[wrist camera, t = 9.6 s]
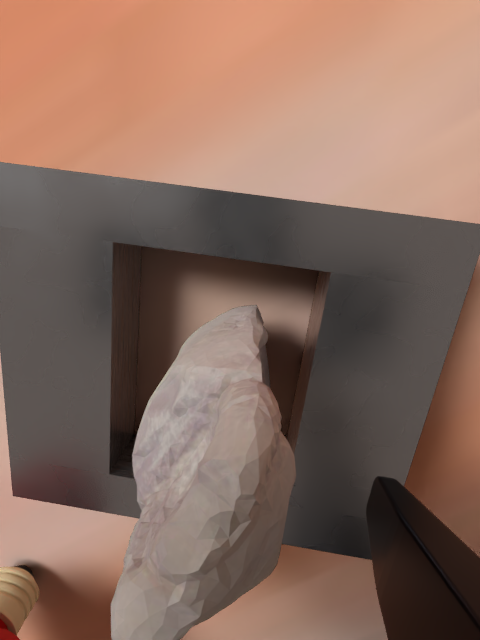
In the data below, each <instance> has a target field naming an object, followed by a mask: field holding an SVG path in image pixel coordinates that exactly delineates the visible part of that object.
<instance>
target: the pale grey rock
mask: <svg viewBox="0 0 480 640" xmlns="http://www.w3.org/2000/svg"><path fill="white" fill-rule="evenodd" d="M267 340H268V333H267V331H266V329H265V328H264V326H263V320H262V317H261V314H260V311H259V309H258V307H257V305H251V306H241V307H237V308H233V309H231V310H229V311H227V312H225V313H223V314H220V315H219V316H217V317H216V318H214V319H213V320H211V321H209V322H207V323H206V324H204V325H203V326H201V327H200V328H199V329H197V330H196V331H195V332H194V333H193V334H192V335H191V336H190V337H189V338H188V339H187V340H186V341H185V343H184V344H183V345H182V347H181V349H180V351H179V354H178V356H177V357H176V359H175V361H174V362H173V364H172V365H171V367H170V368H169V370H168V371H167V373H166V374H165V376H164V377H163V379H162V380H161V382H160V383H159V385H158V387H157V388H156V390H155V391H154V393H153V394H152V396H151V398H150V399H149V401H148V404H147V406H146V409H145V411H144V414H143V417H142V420H141V423H140V426H139V429H138V433H137V437H136V441H135V445H134V450H133V454H132V462H133V473H134V478H135V481H136V484H137V502H138V504H139V506H140V508H141V511H142V512H141V514H140V519H139V520H138V522H137V523H136V524H135V527H134V531H133V533H132V535H131V536H130V540H129V545H128V548H127V551H126V554H125V558H124V568H123V573H122V575H121V577H120V579H119V581H118V584H117V587H116V591H115V594H114V597H113V600H112V602H111V638H112V640H180V639H181V638H182V637H183V636H184V635H185V634H186V633H187V632H188V631H189V629H190V628H191V627H193V626H195V625H197V624H199V623H201V622H203V621H205V620H207V619H209V618H211V617H212V616H214V615H215V614H216V613H218V612H219V611H221V610H222V609H224V608H226V607H227V606H229V605H230V604H232V603H233V602H235V601H236V600H237V599H238V598H239V597H240V596H242V595H243V594H245V593H246V592H248V591H249V590H251V589H252V588H254V587H255V586H256V585H258V584H259V583H260V582H261V581H263V580H264V579H265V578H266V577H268V576H269V575H270V574H271V573H272V571H273V570H274V568H275V567H276V565H277V562H278V558H279V554H280V549H281V544H282V539H283V533H284V527H285V522H286V516H287V510H288V504H289V498H290V495H291V491H292V488H293V485H294V483H295V479H296V468H295V457H294V454H293V451H292V449H291V447H290V445H289V442H288V441H287V439H286V438H285V437H284V435H283V434H282V432H281V431H280V430H281V423H280V421H281V419H282V417H281V414H280V411H279V406H278V402H277V400H276V398H275V397H274V395H273V393H272V391H271V390H270V377H269V367H268V359H267V353H266V346H265V344H266V342H267Z"/></svg>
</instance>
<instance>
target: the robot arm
mask: <svg viewBox="0 0 480 640" xmlns="http://www.w3.org/2000/svg"><path fill="white" fill-rule="evenodd" d="M366 518H367V526H368V533H369V540H370V548H371V555H372V563H373V570H374V577H375V584H376V590H377V594H378V599H379V604H380V608H381V612H382V616H383V620H384V624H385V629H386V633H387V637H388V640H480V557H479V556H478V555H476V554H475V553H474V552H473V551H472V550H471V549H470V548H469V547H468V546H467V545H466V544H465V543H464V542H463V541H462V540H460V539H459V538H458V537H457V536H456V535H455V534H454V533H453V532H452V531H451V530H450V529H449V528H448V527H447V526H445V525H444V524H443V523H442V522H441V521H440V520H439V519H438V518H437V517H436V516H435V515H434V514H433V513H432V512H431V511H429V510H428V509H427V508H426V507H425V506H424V505H423V504H422V503H421V502H420V501H419V500H418V499H417V498H416V497H415V496H413V495H412V494H411V493H410V492H409V491H408V490H407V489H406V488H405V487H404V486H403V485H402V484H401V483H400V482H398V481H397V480H396V479H394V478H389V477H382V476H378V477H376V478H375V479H374V482H373V485H372V488H371V492H370V495H369V498H368V502H367V506H366Z"/></svg>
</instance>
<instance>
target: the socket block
mask: <svg viewBox="0 0 480 640" xmlns="http://www.w3.org/2000/svg"><path fill="white" fill-rule="evenodd" d="M142 246H145V247H153V248H160V249H167V250H174V251H181V252H189V253H196V254H203V255H210V256H217V257H225V258H232V259H239V260H246V261H253V262H261V263H268V264H275V265H282V266H289V267H297V268H304V269H311V270H318V271H319V273H318V278H317V283H316V288H315V294H314V299H313V304H312V309H311V314H310V320H309V325H308V330H307V335H306V340H305V346H304V351H303V356H302V361H301V366H300V372H299V377H298V382H297V387H296V392H295V398H294V403H293V408H292V413H291V418H290V424H289V429H288V434H287V441H288V442H289V445H290V447H291V449H292V451H293V454H294V457H295V468H296V479H295V483H294V485H293V488H292V491H291V495H290V498H289V504H288V510H287V516H286V522H285V527H284V533H283V539H282V544H285V545H291V546H297V547H302V548H308V549H313V550H319V551H325V552H330V553H336V554H342V555H347V556H353V557H358V558H364V559H370V560H372V555H371V548H370V540H369V533H368V526H367V518H366V506H367V502H368V498H369V495H370V492H371V488H372V485H373V482H374V479H375V478H376V477H378V476H382V477H389V478H394V479H396V480H397V481H398V482H400V483H401V484H402V485H403V486H404V484H405V481H406V478H407V475H408V472H409V469H410V466H411V463H412V460H413V457H414V454H415V451H416V448H417V444H418V441H419V438H420V435H421V432H422V429H423V426H424V423H425V420H426V417H427V414H428V411H429V408H430V404H431V401H432V398H433V395H434V392H435V389H436V386H437V383H438V380H439V377H440V374H441V371H442V368H443V364H444V361H445V358H446V355H447V352H448V349H449V346H450V343H451V340H452V337H453V334H454V331H455V328H456V324H457V321H458V318H459V315H460V312H461V309H462V306H463V303H464V300H465V297H466V294H467V291H468V288H469V285H470V281H471V278H472V275H473V272H474V269H475V266H476V263H477V260H478V257H479V254H480V224H475V223H467V222H459V221H452V220H444V219H436V218H429V217H421V216H413V215H405V214H398V213H390V212H382V211H374V210H367V209H359V208H351V207H344V206H336V205H328V204H320V203H313V202H305V201H297V200H289V199H282V198H274V197H266V196H259V195H251V194H243V193H235V192H228V191H220V190H212V189H204V188H197V187H189V186H181V185H174V184H166V183H158V182H150V181H143V180H135V179H127V178H120V177H112V176H104V175H96V174H89V173H81V172H73V171H65V170H58V169H50V168H42V167H35V166H27V165H19V164H11V163H4V162H0V353H1V364H2V376H3V387H4V399H5V410H6V422H7V433H8V445H9V457H10V468H11V480H12V491H13V496H16V497H22V498H27V499H33V500H39V501H44V502H50V503H55V504H61V505H67V506H72V507H78V508H83V509H89V510H95V511H100V512H106V513H112V514H117V515H123V516H128V517H134V518H140V514H141V512H142V511H141V508H140V506H139V504H138V502H137V484H136V481H135V478H134V473H133V462H132V454H133V450H134V445H135V441H136V437H137V434H134V430H135V405H136V380H137V354H138V329H139V304H140V279H141V254H142Z"/></svg>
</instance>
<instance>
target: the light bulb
mask: <svg viewBox="0 0 480 640" xmlns="http://www.w3.org/2000/svg"><path fill="white" fill-rule="evenodd" d="M38 597H39V588H38V585H37V584H36V582H35V579H34V577H33V573H32V571H31V569H30V568H28V567H26V566H23V565H19V566H14V567H0V640H20V639H19V638H18V637H17V633H18V632H19V630H20V628H21V626H22V624H23V622H24V621H25V619H26V618H27V617H28V615H29V612H30V611H31V610H32V608H33V606H34V604H35V603H36V602H37V600H38Z"/></svg>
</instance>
